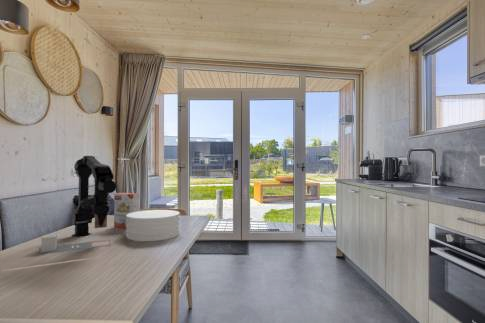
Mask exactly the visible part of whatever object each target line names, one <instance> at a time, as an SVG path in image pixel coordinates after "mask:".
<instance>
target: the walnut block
mask: <svg viewBox="0 0 485 323" xmlns="http://www.w3.org/2000/svg"><path fill="white" fill-rule="evenodd" d="M107 227H108V215H107V216H106V218H105V220H104V223H103V225H102V226H100V225H99V220H98V215H97V214H95V213H94V229H100V228H101V229H102V228H107Z"/></svg>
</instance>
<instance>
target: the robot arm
mask: <svg viewBox="0 0 485 323" xmlns="http://www.w3.org/2000/svg"><path fill="white" fill-rule="evenodd" d="M74 172H75V174H76V176H77V177H78V203H77V204H78V205H77V206H76V208H74V213H73V215H72V218H71V225H72V226H74V233H73V234H71V236H72V237H80V238H81V237H84V236H88V235H91V232H89V230H90V229H89V224H92V221H93V218H94V215H95V214H97V215H98V220H99V225H100V226H102V225H103V223H104V220H105V218H106V216H107V217H108V214H109V212H110V205H109V199H108V198H109V194H112V193H114V192H115V191H116V189H117V184H116V182H115V181H114V177H115V176H114V173H113V171H112V169H111V167H110V165H108V164H104V163H101V162H100V161H99V160H97V159H96V156H94V155H84V156H82V158H80V159H78V160H76V162H75V163H74ZM91 176H92V177H93V179H94V180H93V183H94V194H93V196H91V197H89V185H90V184H89V180H90V177H91ZM90 206H92V207H93V209H92V208H91V207H90ZM93 213H94V214H93Z"/></svg>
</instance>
